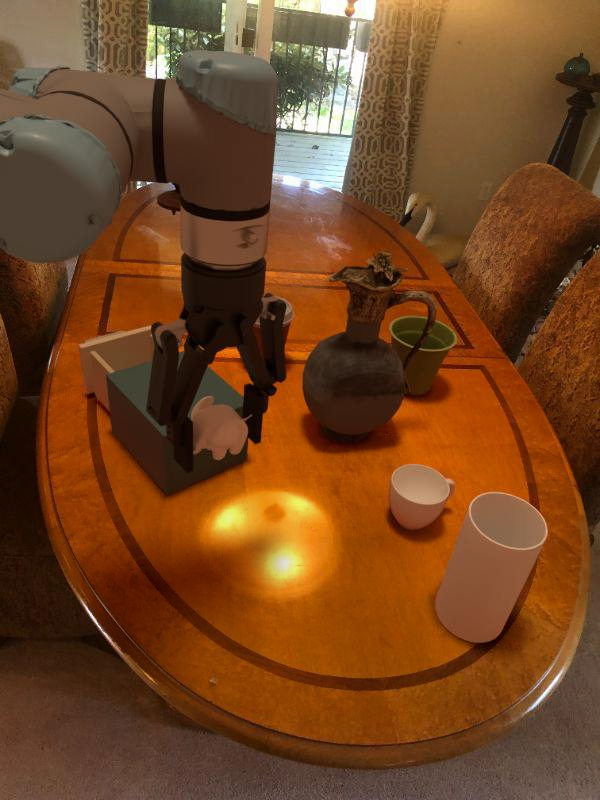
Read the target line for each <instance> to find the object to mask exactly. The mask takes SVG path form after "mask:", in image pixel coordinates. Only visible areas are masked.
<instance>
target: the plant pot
mask: <svg viewBox="0 0 600 800" xmlns="http://www.w3.org/2000/svg"><path fill="white" fill-rule="evenodd" d="M427 320H428V316H427V317H426V316H421V315H404V316H400V317H397V318H395V319H393V320H392V321H390V323H389V326H388V331H389V334H390V343H391V347H392V348H393V349H394V350H395V351H396V353H397V354H398V356H399V358H400V360H401V362H402V365H404V362H405V359H406V357H407V355H408V354H409V353H410V352H411V350H412V349H413V347H414V346H415V344H416V343H417V342H418V340H419V339H420V338H421V336H422V334H423V329H424V327H425V325H426V323H427ZM457 342H458V335H457V334H456V332H455V331H454V330H453V328H451V327H450V326H448V325H447V324H446V323H443V322H442V321H439V320H437V319H436V320H435V324H434V326H433V328H432V331H431V333H430V334H429V335H428V337H427V339H426V340H425V342H424V343H423V344H422V346H421V347H420V348H419V350H418V351H417V352H416V353H415V355H413V356H412V358H411V359H410V362H409V364H408V365H407V367H406V380H407V382H408V385H409V387H410V390H411V394H410V393H409V391H408V390H407V388H406V385H405V392H404V395H413V396H422V395H425V394H428V392H429V391H430V390H431V387H432V386H433V383H434V381H435V379H436V377H437V375H438V373H439V371H440V369H441V367H442V364H443V363H444V361H445V359H446V357H447V356H448V355H449V353H450V352H451V349H453V348H454V347H455V346H456V344H457Z"/></svg>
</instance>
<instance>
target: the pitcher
mask: <svg viewBox="0 0 600 800" xmlns="http://www.w3.org/2000/svg"><path fill="white" fill-rule="evenodd" d="M372 255H373V257H371V258H367V260H366V261H365V262H364V264H366V265H367V266H361V265H360V266H359V265H346V266H343V267H342V268H340V269H339V270H337V271H335V272H333V273H332V274H330V275H329V278H328V282H329V283H332V284H333V283H337V282H341V283H343V284H344V285H345V286H346V289H347V290H348V292H349V301H348V304H347V307H346V313H347V319H346V325H345V326H346V327H345V331H341V332H337V333H334V334H332V335H330V336H328V337H326V338H324V339H322V340H320V341H319V342H318V343H317V344H316V345H315V347H314V348H313V349H312V351H311V352H310V353H309V355H308V357H307V359H306V361H305V364H304V367H303V371H302V385H301V389H302V393H303V398H304V401H305V404H306V406H307V409H308V411H309V412H310V414H311V415H312V416H313V418H314V419H315V420H316V422H318V423H319V424H320V428H321V431H322V433H323V434H324V435H325V437H326V438H328V439H330V440H332V441H334V442H339V443H343V444H350V443H351V444H353V443H358V442H361V441H362V440H364V439H366V438H367V437H368V435H369V433H370V432H372V431H375V430H377V429H379V428H382V427H383V426H385V425H387V424H388V423H389V422H390V421H391V420H392V419H393V417H394V416H395V415H396V413H398V410H399V409H400V407H402V404H403V400H404V398H405V394H404V392H405V385H406V388H407V390H408V391H409V393H410V394H409V395H412V394H411V390H410V387H409V385H408V382H407V380H406V367H407V365H408V364H409V362H410V359H411V358H412V356H413V355H415V353H416V352H417V351H418V350H419V348H420V347H421V346H422V344H423V343H424V342H425V340H426V339H427V337H428V335H429V334H430V333H431V331H432V328H433V326H434V324H435V320H437V315H438V314H437V313H438V308H437V304H436V301H435V298H434V297H433V296H432V295H431V294H430V293H428V292H427V291H424V290H415V289H414V290H413V289H411V290H408V291H405V292H403V293H399V292H398V293H396V292H395V291H394V289H395V288H397V287H398V286H399V285H400V284H401V283H402V282H403V279H404V274H403V273H402V272H404V273H405V272H406V273H407V272H408V269H409V268H407V267H406V268H401V267H396V264H395V263H394V262H393V261H392V258H393V257H394V256H393V254H391V253H388V252H384V251H378V252H377V253H376V255H375V253H372ZM407 302H420V303H422V304H425V306H426V309H427V318H428V320H427V323H426V325H425V327H424V329H423V334H422V336H421V338H420V339H419V340H418V342H417V343H416V344H415V346H414V347H413V349H412V350H411V352H410V353H409V354H408V355H407V357H406V359H405V362H404V365H402V362H401V360H400V358H399V356H398V354H397V353H396V351H395V350H394V349H393V348H392V344H389V343H388V342H387V341H386V340H385V339H383V338H381V337H380V332H381V326H382V322H383V321H384V320H385V317H386V314H387V311H388V310H389V309H390V308H392V307H396V306H400V305H403V304H405V303H407Z"/></svg>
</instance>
